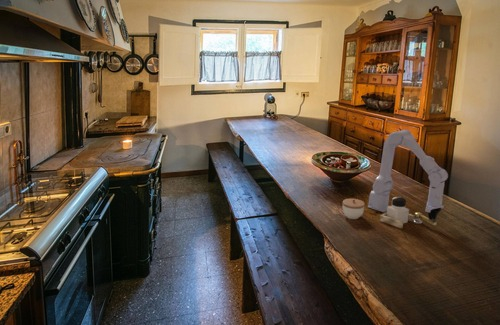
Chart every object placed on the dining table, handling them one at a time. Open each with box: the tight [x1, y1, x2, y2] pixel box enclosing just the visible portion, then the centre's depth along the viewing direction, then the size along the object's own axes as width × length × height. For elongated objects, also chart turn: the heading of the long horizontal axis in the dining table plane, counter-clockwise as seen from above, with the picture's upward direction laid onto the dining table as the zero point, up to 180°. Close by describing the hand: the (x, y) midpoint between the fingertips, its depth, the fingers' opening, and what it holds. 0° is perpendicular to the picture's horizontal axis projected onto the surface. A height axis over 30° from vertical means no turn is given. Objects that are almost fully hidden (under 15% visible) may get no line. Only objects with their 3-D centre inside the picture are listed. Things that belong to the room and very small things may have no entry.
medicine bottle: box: [386, 196, 410, 224], centre depth 169 cm, size 7×7×12 cm
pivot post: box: [411, 217, 423, 225], centre depth 169 cm, size 4×4×2 cm
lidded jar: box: [342, 198, 365, 220], centre depth 174 cm, size 11×11×9 cm
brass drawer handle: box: [414, 211, 437, 226], centre depth 164 cm, size 12×3×3 cm, turn 20°
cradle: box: [379, 211, 415, 229], centre depth 170 cm, size 11×12×3 cm
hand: (431, 221), depth 163 cm, fingers closed, pressing on brass drawer handle
